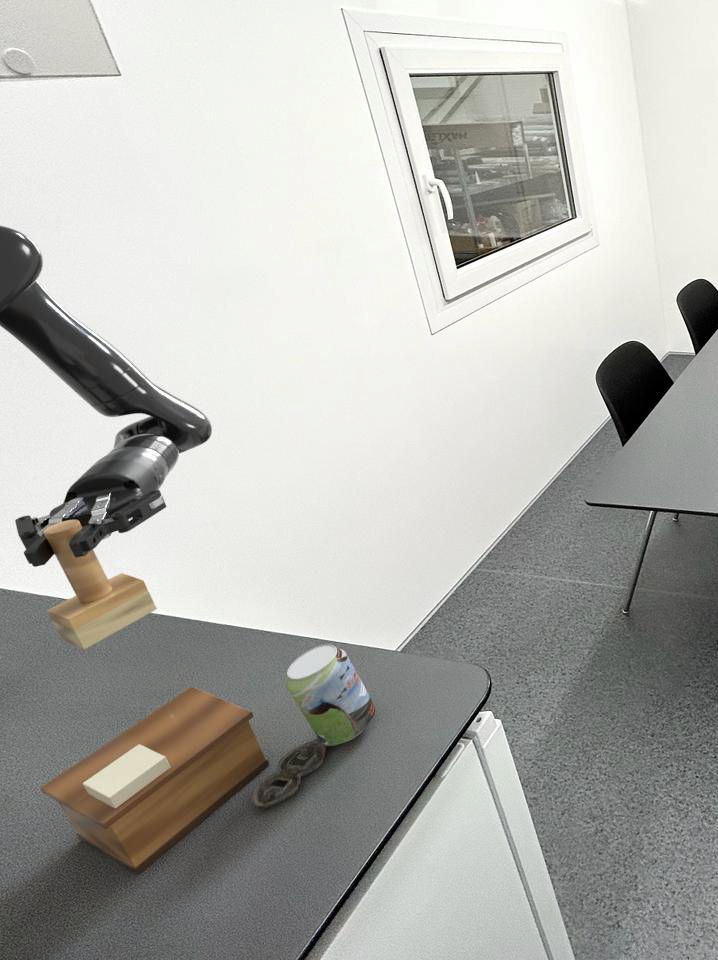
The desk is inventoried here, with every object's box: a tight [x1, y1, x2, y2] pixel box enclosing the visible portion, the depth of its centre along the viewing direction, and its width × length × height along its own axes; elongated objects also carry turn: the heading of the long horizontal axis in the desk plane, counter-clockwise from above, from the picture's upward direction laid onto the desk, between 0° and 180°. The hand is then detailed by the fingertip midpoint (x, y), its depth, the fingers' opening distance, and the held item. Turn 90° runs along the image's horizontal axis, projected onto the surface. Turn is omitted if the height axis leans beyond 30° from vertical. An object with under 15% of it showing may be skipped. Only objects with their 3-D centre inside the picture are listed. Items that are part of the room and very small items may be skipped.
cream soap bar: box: [83, 744, 171, 809], centre depth 64 cm, size 4×4×2 cm
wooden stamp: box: [44, 520, 158, 650], centre depth 75 cm, size 4×7×15 cm, turn 161°
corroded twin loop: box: [251, 739, 327, 808], centre depth 72 cm, size 5×8×1 cm, turn 174°
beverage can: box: [285, 644, 376, 747], centre depth 76 cm, size 6×7×12 cm
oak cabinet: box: [39, 686, 270, 876], centre depth 69 cm, size 11×13×8 cm
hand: (56, 554), depth 71 cm, fingers closed on wooden stamp, 3 cm apart
